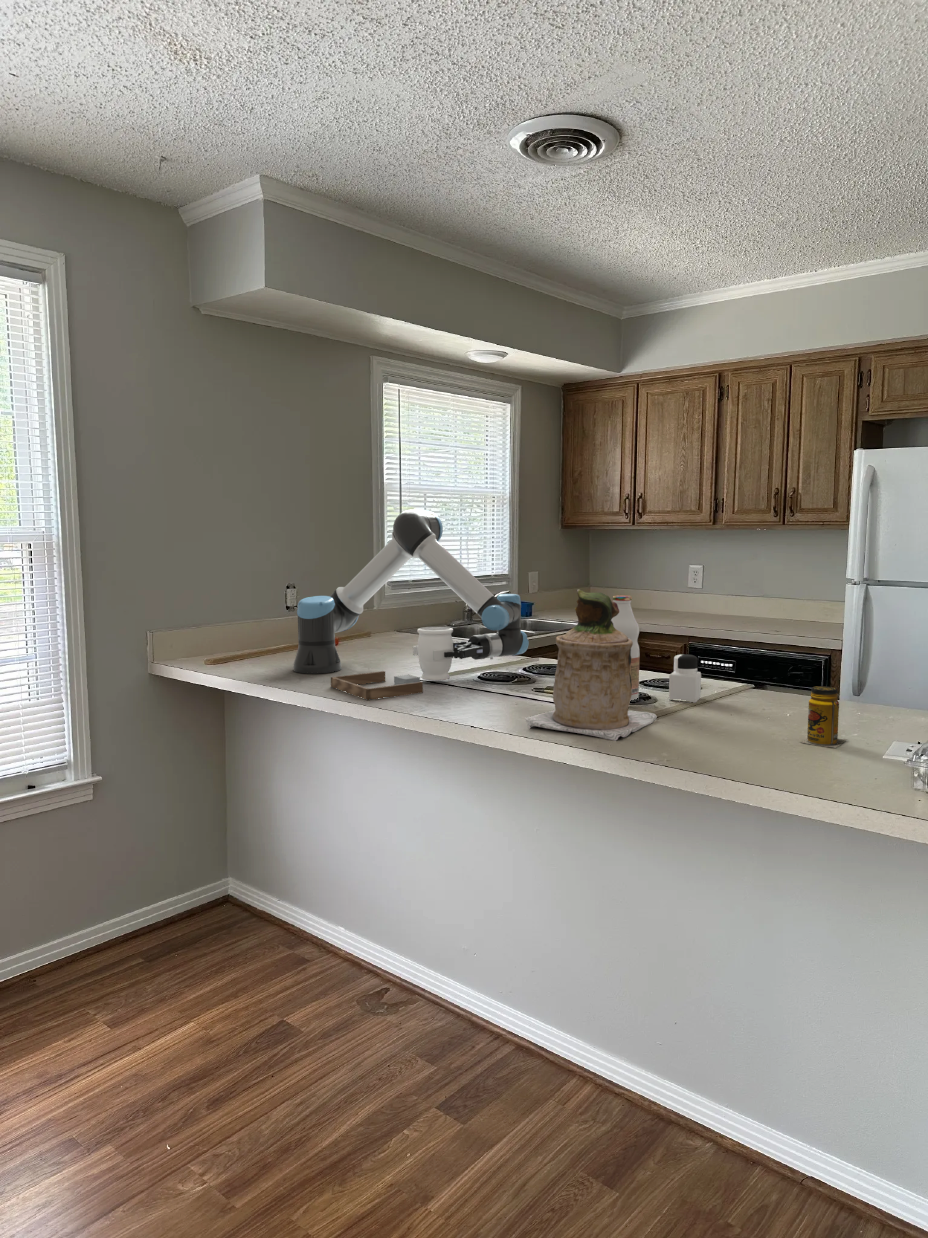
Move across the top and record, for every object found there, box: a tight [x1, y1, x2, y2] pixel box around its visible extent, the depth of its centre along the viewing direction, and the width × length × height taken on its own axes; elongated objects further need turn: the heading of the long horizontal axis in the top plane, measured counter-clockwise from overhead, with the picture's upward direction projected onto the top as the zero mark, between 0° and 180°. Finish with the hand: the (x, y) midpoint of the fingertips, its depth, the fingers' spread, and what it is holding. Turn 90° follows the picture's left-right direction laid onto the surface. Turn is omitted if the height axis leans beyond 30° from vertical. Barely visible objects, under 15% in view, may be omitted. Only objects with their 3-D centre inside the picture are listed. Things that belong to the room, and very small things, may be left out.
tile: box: [393, 674, 421, 685], centre depth 249 cm, size 6×5×3 cm
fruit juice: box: [611, 594, 640, 701], centre depth 226 cm, size 9×9×28 cm
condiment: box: [800, 685, 849, 749], centre depth 184 cm, size 7×8×12 cm
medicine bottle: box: [668, 653, 702, 704], centre depth 228 cm, size 7×7×12 cm
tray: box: [330, 670, 424, 701], centre depth 243 cm, size 22×18×3 cm
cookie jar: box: [524, 589, 658, 741], centre depth 200 cm, size 25×25×32 cm
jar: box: [416, 626, 454, 682], centre depth 253 cm, size 11×10×15 cm
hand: (423, 653), depth 251 cm, fingers closed on jar, 10 cm apart
